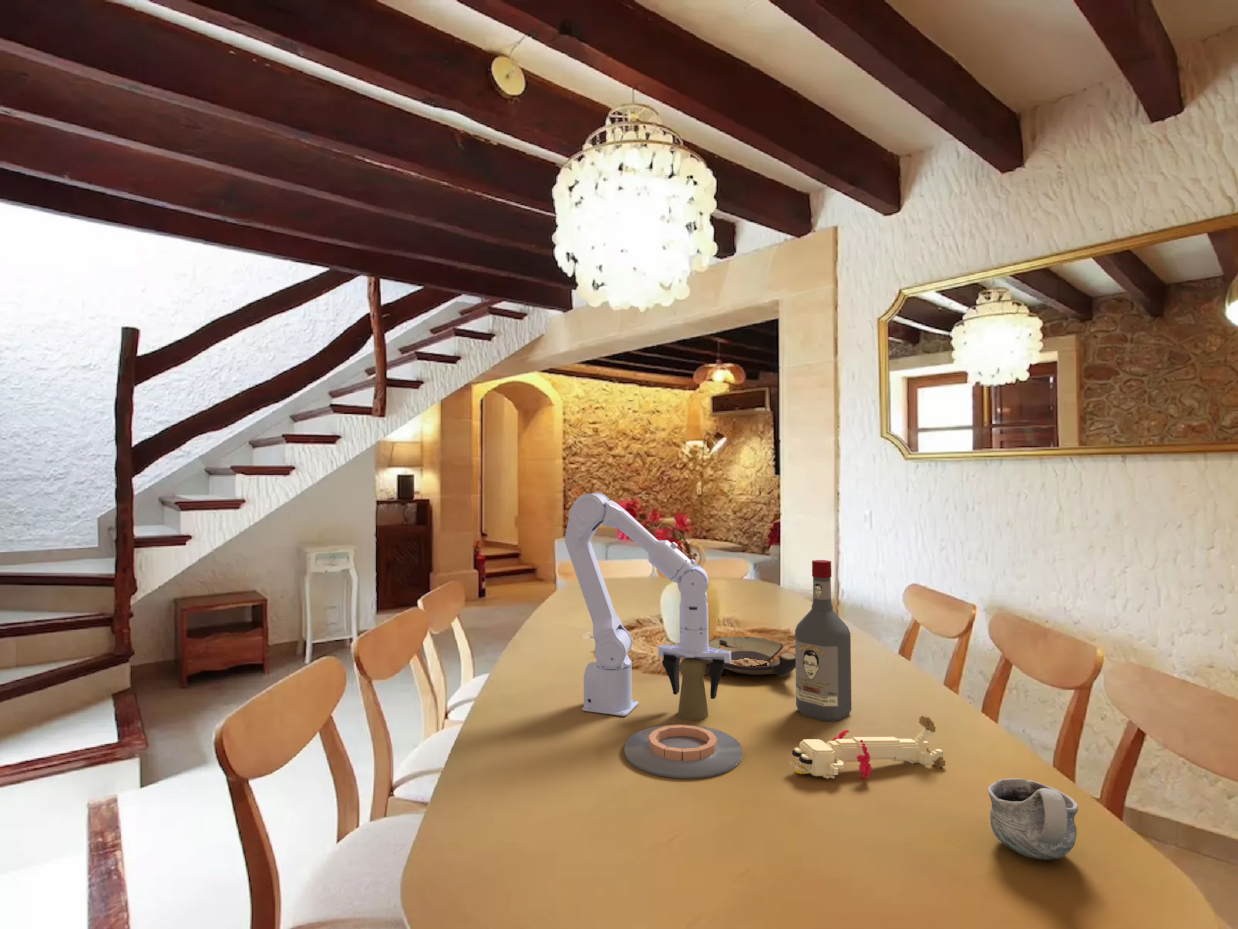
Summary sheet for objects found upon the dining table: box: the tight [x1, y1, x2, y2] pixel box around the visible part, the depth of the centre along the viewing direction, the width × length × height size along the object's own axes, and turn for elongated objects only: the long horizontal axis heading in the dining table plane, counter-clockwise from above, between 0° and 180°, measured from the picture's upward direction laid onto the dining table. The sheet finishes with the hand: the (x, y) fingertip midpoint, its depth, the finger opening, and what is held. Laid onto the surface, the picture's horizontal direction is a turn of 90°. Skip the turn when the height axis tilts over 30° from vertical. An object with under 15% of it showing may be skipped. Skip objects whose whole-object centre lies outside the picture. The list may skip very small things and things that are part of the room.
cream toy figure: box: [789, 714, 946, 780], centre depth 108 cm, size 10×9×25 cm
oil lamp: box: [709, 636, 796, 677], centre depth 161 cm, size 22×30×8 cm
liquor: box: [794, 559, 853, 722], centre depth 134 cm, size 9×9×30 cm
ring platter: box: [624, 724, 743, 780], centre depth 115 cm, size 20×20×2 cm
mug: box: [987, 777, 1079, 861], centre depth 83 cm, size 10×12×10 cm
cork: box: [677, 658, 709, 721], centre depth 133 cm, size 6×6×11 cm
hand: (694, 695), depth 134 cm, fingers open, 7 cm apart
